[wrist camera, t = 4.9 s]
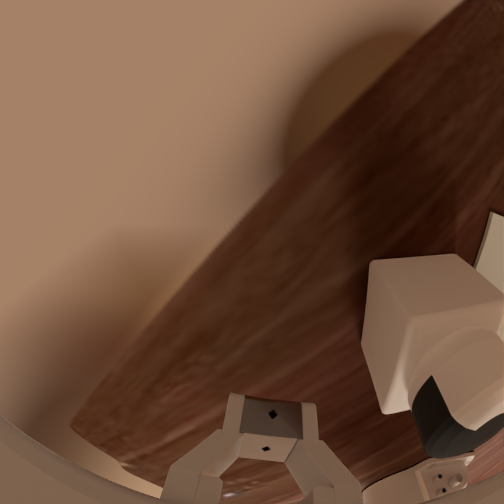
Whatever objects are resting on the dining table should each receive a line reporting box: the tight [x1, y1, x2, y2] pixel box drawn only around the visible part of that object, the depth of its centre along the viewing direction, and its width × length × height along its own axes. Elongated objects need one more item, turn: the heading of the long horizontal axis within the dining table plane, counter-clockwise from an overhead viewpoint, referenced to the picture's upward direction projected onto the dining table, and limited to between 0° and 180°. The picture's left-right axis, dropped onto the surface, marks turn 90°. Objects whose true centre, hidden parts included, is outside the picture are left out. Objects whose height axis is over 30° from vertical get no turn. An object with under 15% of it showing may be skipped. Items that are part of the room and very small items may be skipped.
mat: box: [473, 211, 504, 342], centre depth 17 cm, size 12×16×1 cm
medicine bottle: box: [361, 254, 504, 459], centre depth 12 cm, size 7×7×12 cm
